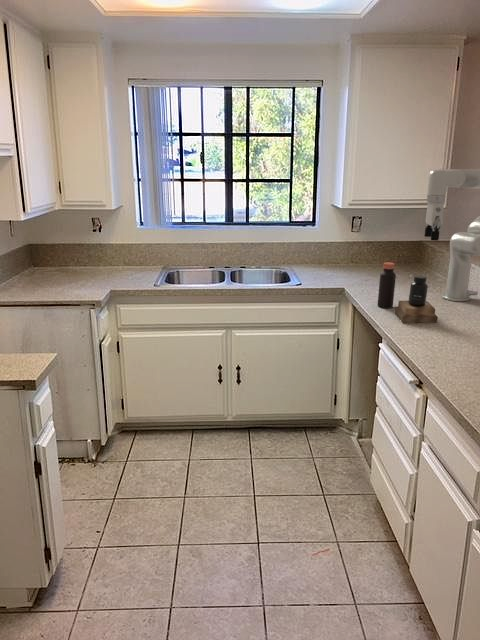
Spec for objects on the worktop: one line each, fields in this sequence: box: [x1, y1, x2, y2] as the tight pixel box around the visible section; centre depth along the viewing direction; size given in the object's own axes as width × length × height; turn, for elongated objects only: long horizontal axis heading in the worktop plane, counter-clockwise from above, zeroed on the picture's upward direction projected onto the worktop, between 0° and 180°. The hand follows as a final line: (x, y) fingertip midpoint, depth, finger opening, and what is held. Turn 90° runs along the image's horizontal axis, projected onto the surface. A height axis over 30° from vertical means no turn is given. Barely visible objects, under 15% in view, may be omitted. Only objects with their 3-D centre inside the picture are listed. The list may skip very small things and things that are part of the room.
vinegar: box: [377, 261, 397, 309], centre depth 234 cm, size 7×7×20 cm
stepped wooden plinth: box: [394, 300, 438, 324], centre depth 219 cm, size 14×14×6 cm
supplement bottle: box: [408, 275, 429, 307], centre depth 217 cm, size 7×7×12 cm
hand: (431, 238), depth 232 cm, fingers open, 9 cm apart
